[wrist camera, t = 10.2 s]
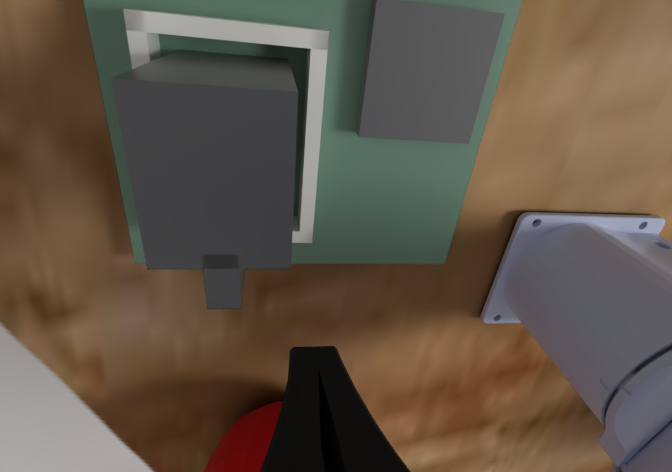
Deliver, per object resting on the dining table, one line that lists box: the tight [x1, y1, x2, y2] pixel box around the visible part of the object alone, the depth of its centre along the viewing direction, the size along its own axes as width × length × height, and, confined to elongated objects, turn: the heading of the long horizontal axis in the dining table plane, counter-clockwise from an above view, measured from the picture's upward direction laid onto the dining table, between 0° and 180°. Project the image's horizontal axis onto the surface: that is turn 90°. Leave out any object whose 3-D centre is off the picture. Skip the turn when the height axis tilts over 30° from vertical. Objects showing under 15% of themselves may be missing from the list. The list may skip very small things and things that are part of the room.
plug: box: [111, 49, 298, 309], centre depth 13 cm, size 4×6×7 cm, turn 175°
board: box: [83, 0, 522, 264], centre depth 16 cm, size 16×14×2 cm
